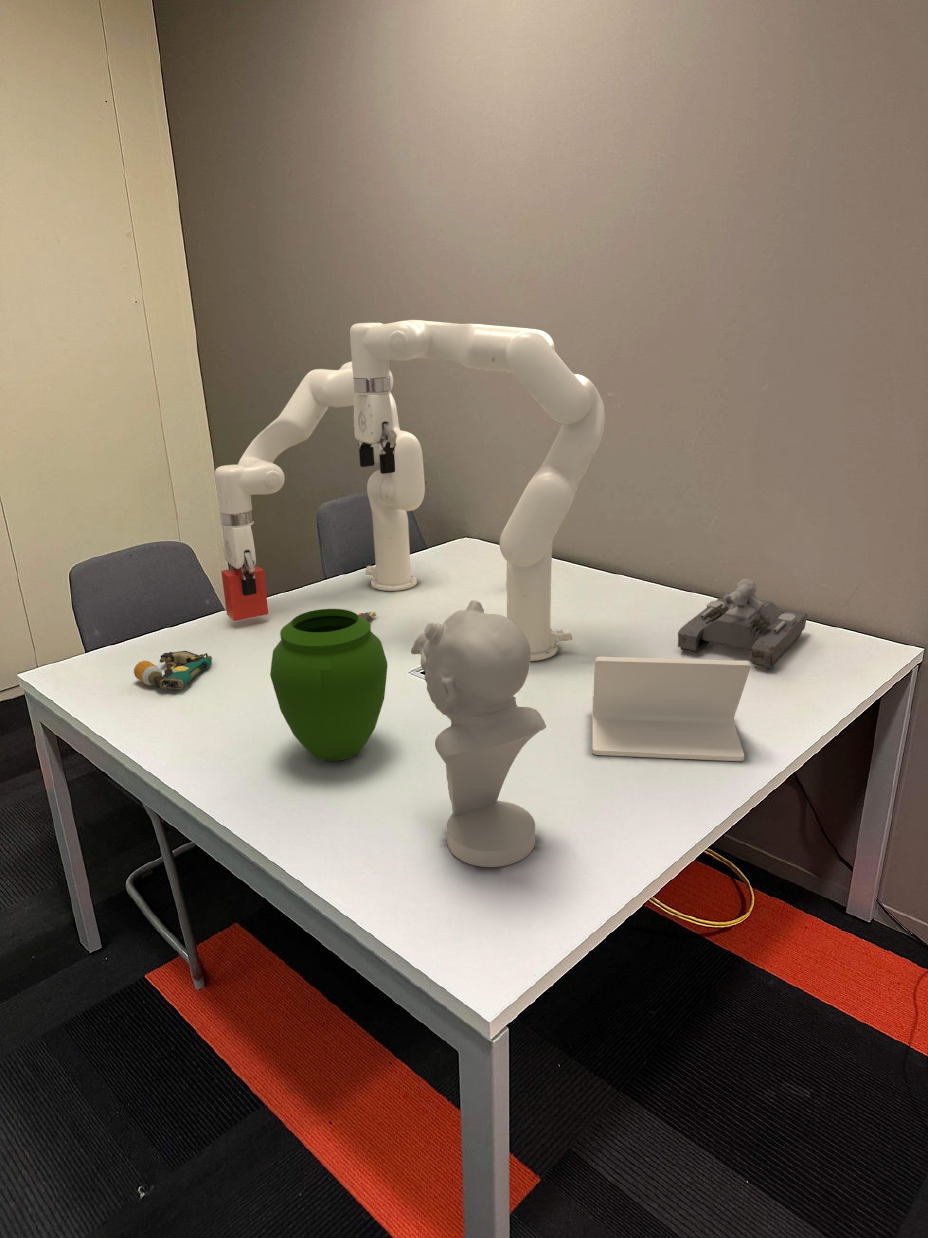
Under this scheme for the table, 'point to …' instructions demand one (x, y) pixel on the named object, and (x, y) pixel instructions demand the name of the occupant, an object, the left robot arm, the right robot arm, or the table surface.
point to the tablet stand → (667, 707)
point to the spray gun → (172, 669)
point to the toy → (744, 626)
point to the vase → (330, 681)
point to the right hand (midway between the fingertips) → (377, 469)
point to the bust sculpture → (481, 729)
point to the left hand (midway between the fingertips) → (245, 590)
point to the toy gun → (367, 615)
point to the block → (234, 597)
